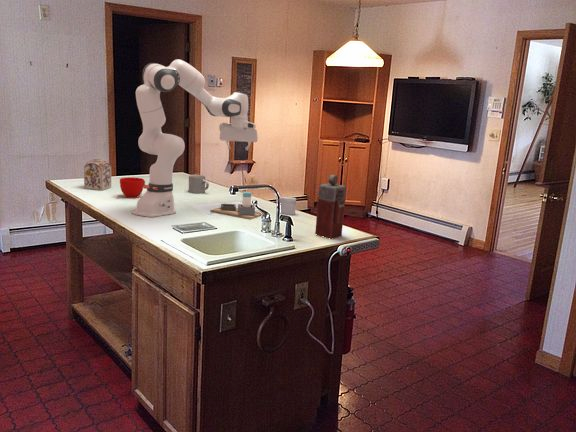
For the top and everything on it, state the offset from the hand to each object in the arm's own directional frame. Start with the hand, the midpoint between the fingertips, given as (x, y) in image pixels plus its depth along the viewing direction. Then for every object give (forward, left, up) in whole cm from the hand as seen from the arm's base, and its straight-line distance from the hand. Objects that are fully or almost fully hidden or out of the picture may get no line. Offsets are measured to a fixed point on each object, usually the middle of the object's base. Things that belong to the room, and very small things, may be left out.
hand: (238, 149), depth 282 cm
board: (-14, -10, -31) cm, 36 cm away
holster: (-13, -3, -30) cm, 33 cm away
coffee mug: (+18, +38, -31) cm, 52 cm away
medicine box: (+4, -30, -31) cm, 44 cm away
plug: (-15, -16, -30) cm, 37 cm away
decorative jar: (-15, +87, -31) cm, 94 cm away
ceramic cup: (-18, +56, -31) cm, 67 cm away
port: (-15, -16, -30) cm, 37 cm away
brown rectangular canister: (-23, -66, -31) cm, 77 cm away
